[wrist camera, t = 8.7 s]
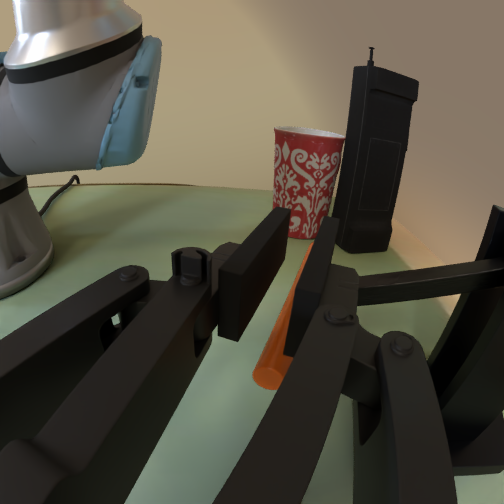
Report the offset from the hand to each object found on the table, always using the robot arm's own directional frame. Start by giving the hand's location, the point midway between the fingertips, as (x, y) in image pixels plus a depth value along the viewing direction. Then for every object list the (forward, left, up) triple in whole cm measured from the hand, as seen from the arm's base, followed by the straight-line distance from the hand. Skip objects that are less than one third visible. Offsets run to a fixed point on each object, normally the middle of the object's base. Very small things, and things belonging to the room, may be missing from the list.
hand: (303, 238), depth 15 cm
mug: (-20, +18, -10) cm, 29 cm away
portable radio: (-13, +22, -10) cm, 28 cm away
